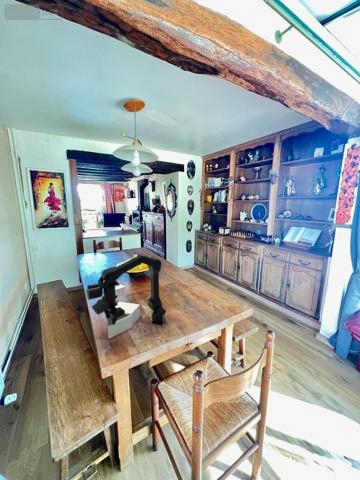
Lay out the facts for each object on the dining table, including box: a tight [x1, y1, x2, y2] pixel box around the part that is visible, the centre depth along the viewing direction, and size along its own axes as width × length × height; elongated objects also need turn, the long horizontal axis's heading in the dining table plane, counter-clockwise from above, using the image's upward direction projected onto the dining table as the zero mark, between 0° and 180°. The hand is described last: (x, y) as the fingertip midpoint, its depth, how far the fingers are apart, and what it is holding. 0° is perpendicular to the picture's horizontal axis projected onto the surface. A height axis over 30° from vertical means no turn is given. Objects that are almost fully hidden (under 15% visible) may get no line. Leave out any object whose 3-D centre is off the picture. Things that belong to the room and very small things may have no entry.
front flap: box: [106, 315, 133, 339], centre depth 109 cm, size 14×1×12 cm, turn 136°
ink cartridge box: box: [115, 280, 126, 303], centre depth 141 cm, size 9×5×15 cm, turn 141°
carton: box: [115, 301, 141, 327], centre depth 122 cm, size 14×11×8 cm
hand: (111, 322), depth 104 cm, fingers open, 5 cm apart
